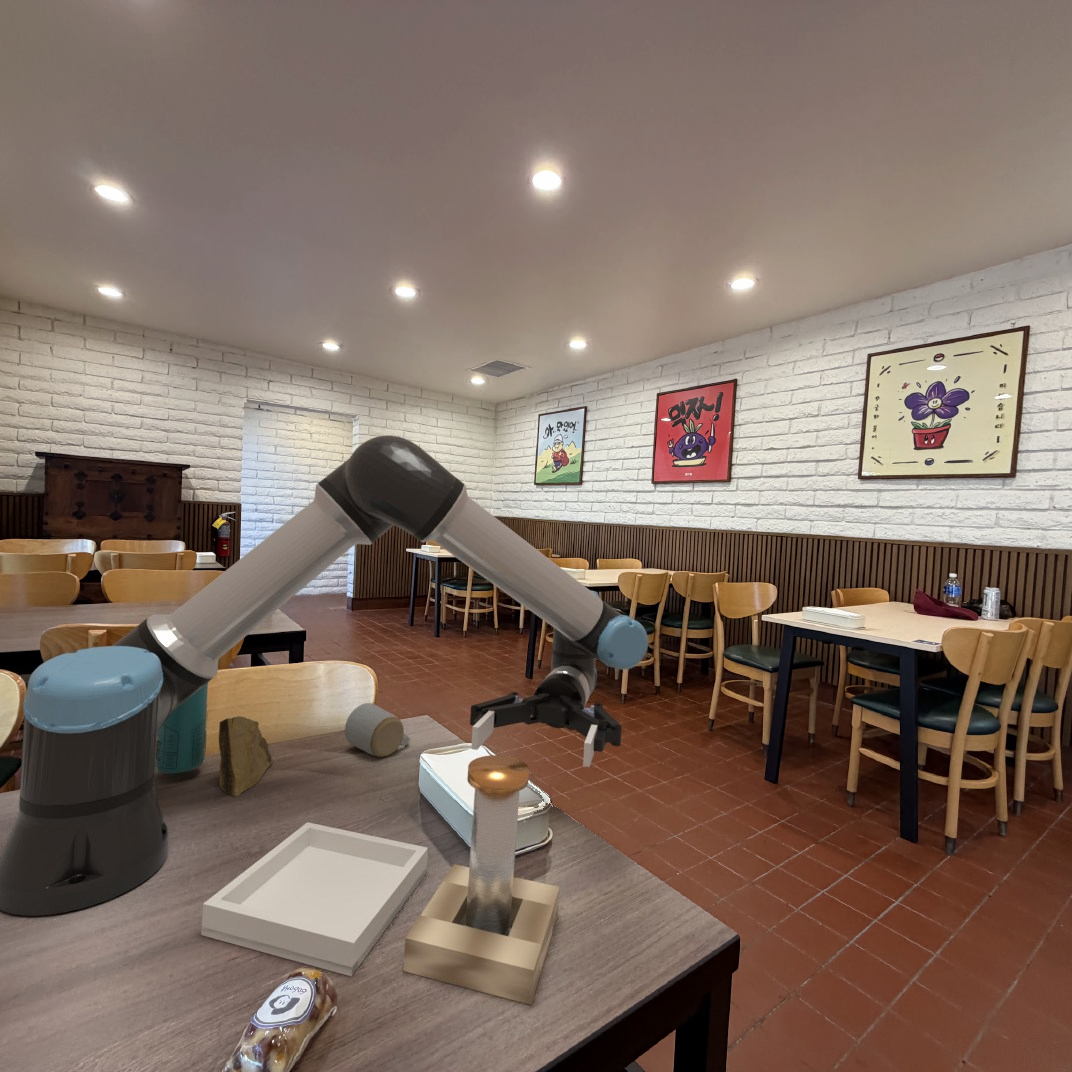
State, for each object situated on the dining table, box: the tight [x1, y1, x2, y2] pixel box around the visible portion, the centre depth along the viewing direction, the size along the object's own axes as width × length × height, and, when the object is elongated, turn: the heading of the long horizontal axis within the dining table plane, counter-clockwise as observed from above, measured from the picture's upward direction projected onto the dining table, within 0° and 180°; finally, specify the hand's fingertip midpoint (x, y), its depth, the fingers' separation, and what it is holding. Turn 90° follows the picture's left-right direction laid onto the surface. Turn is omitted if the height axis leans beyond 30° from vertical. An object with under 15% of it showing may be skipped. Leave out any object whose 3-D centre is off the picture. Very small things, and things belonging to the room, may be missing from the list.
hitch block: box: [402, 864, 561, 1006], centre depth 56 cm, size 12×12×3 cm
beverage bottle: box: [155, 682, 209, 774], centre depth 86 cm, size 6×7×20 cm
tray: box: [200, 822, 429, 977], centre depth 60 cm, size 16×16×3 cm
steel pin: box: [465, 754, 530, 936], centre depth 56 cm, size 6×6×17 cm
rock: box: [218, 715, 274, 798], centre depth 86 cm, size 11×9×10 cm
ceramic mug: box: [344, 702, 411, 758], centre depth 101 cm, size 11×8×8 cm
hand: (529, 746), depth 66 cm, fingers open, 13 cm apart
